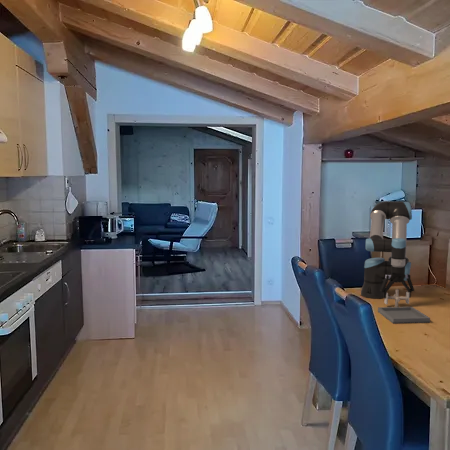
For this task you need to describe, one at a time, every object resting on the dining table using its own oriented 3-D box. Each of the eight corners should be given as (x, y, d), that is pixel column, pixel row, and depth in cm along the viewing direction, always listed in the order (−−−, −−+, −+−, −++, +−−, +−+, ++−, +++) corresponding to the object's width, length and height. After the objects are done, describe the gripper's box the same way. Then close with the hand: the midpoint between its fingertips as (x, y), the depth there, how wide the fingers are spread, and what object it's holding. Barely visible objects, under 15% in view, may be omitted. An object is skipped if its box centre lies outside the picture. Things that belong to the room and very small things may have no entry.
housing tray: (377, 311, 253) (377, 307, 252) (411, 311, 254) (411, 306, 253) (393, 323, 233) (393, 318, 232) (429, 322, 234) (430, 317, 234)
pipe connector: (407, 309, 256) (408, 292, 255) (388, 308, 258) (389, 291, 257) (404, 304, 266) (404, 287, 265) (386, 303, 268) (386, 286, 267)
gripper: (379, 267, 255) (378, 305, 258) (421, 266, 257) (420, 304, 259) (374, 264, 263) (373, 302, 265) (415, 264, 264) (414, 301, 267)
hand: (396, 303), depth 262 cm, fingers open, 12 cm apart
